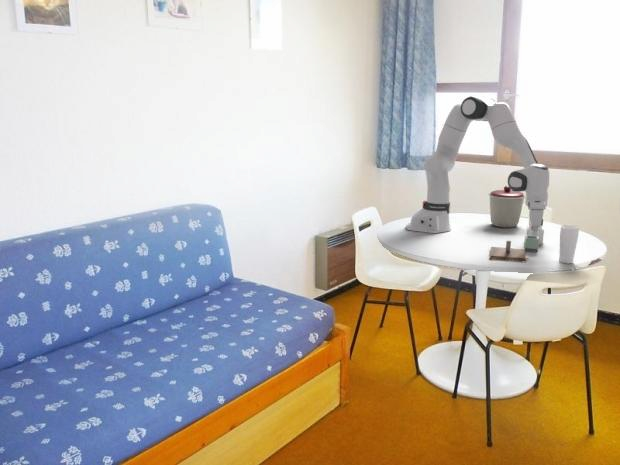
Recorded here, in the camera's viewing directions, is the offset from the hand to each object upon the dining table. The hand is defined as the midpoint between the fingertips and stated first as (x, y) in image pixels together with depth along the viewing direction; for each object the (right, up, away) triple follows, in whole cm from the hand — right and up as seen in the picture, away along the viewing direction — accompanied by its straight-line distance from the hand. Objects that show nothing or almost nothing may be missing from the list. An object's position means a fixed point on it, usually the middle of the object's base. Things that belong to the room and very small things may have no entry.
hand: (533, 232), depth 248 cm
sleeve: (0, -8, +2) cm, 8 cm away
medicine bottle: (+6, -5, +14) cm, 16 cm away
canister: (+3, +3, +46) cm, 46 cm away
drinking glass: (+7, -13, -15) cm, 21 cm away
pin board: (-14, -10, -6) cm, 18 cm away
